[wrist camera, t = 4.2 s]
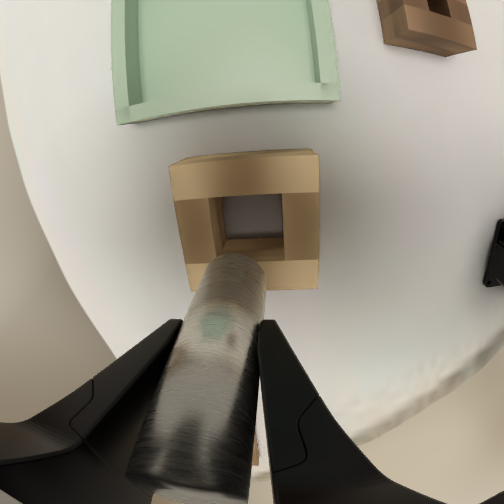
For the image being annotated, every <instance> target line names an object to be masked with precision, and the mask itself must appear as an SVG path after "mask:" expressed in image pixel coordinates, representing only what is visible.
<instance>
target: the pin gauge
mask: <svg viewBox="0 0 504 504" xmlns="http://www.w3.org/2000/svg"><path fill="white" fill-rule="evenodd" d="M265 296H266V276H265V273H264V271H263V269H262V267H261V266H260V265H259V264H258V263H257V262H256V261H255V260H253V259H252V258H250V257H248V256H246V255H243V254H238V253H227V254H223V255H220V256H218V257H216V258H215V259H213V260H212V261H211V262H210V263H209V264H208V266H207V268H206V270H205V272H204V274H203V277H202V279H201V281H200V283H199V286H198V288H197V290H196V293H195V295H194V297H193V300H192V302H191V304H190V307H189V309H188V311H187V314H186V316H185V319H184V321H183V323H182V326H181V328H180V331H179V333H178V335H177V338H176V340H175V343H174V345H173V348H172V350H171V353H170V355H169V357H168V360H167V362H166V365H165V367H164V370H163V372H162V375H161V378H160V380H159V383H158V385H157V388H156V390H155V393H154V396H153V398H152V401H151V403H150V406H149V409H148V411H147V414H146V417H145V419H144V422H143V425H142V427H141V430H140V433H139V435H138V438H137V441H136V444H135V446H134V449H133V452H132V455H131V458H130V460H129V463H128V466H127V469H126V472H125V475H126V477H127V478H128V479H129V480H130V481H131V482H133V483H134V484H136V485H137V486H139V487H141V488H142V489H144V490H146V491H149V492H151V493H153V494H156V495H158V496H161V497H164V498H166V499H170V500H173V501H176V502H180V503H184V504H248V498H249V488H250V478H251V468H252V458H253V447H254V436H255V425H256V413H257V402H258V390H259V377H260V371H259V361H258V339H259V331H260V324H261V321H262V320H264V311H265Z"/></svg>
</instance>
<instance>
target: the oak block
mask: <svg viewBox="0 0 504 504" xmlns="http://www.w3.org/2000/svg"><path fill="white" fill-rule="evenodd" d="M169 172H170V179H171V185H172V192H173V198H174V204H175V210H176V216H177V222H178V228H179V233H180V238H181V244H182V249H183V254H184V259H185V264H186V269H187V274H188V279H189V283H190V288H191V291H196V290H197V288H198V286H199V283H200V281H201V279H202V277H203V274H204V272H205V270H206V268H207V266H208V264H209V263H210V262H211V261H212V260H213V259H215V258H216V257H218V256H220V255H223V254H227V253H238V254H243V255H246V256H248V257H250V258H252V259H253V260H255V261H256V262H257V263H258V264H259V265H260V266H261V267H262V269H263V271H264V273H265V276H266V290H291V289H315V288H318V272H319V157H318V154H316V153H315V152H314V151H313V150H312V149H287V150H266V151H250V152H237V153H226V154H216V155H206V156H197V157H189V158H185V159H183V160H181V161H179V162H177V163H175V164H173V165H170V166H169ZM280 193H282V211H283V234H284V237H279V238H254V239H231V240H226V233H225V225H224V216H223V208H222V199H221V197H227V196H242V195H259V194H280Z"/></svg>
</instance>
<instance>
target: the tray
mask: <svg viewBox="0 0 504 504" xmlns="http://www.w3.org/2000/svg"><path fill="white" fill-rule="evenodd" d="M111 58H112V78H113V92H114V103H115V113H116V122H117V125H124V124H134V123H139V122H143V121H148V120H153V119H158V118H163V117H168V116H173V115H179V114H185V113H191V112H198V111H205V110H212V109H220V108H229V107H239V106H250V105H264V104H282V103H333V102H337V101H340V92H339V80H338V69H337V59H336V50H335V41H334V34H333V26H332V20H331V13H330V7H329V1H328V0H112V3H111Z"/></svg>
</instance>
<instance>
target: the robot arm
mask: <svg viewBox="0 0 504 504" xmlns="http://www.w3.org/2000/svg"><path fill="white" fill-rule="evenodd" d="M483 284H484V285H485V286H486V287H493V286H500V285H503V286H504V219H501V220H500V221H499V222H498V224H497V229H496V234H495V239H494V243H493V247H492V252H491V255H490V259H489V263H488V267H487V270H486V274H485V277H484V280H483ZM182 323H183V320H181V319H170V320H168V321H167V322H166V323H164V324H163V325H162V326H160V327H159V328H158V329H156V330H155V331H154V332H153V333H151V334H150V335H149V336H147V337H146V338H145V339H143V340H142V341H141V342H139V343H138V344H137V345H135V346H134V347H133V348H131V349H130V350H129V351H127V352H126V353H125V354H123V355H122V356H121V357H119V358H118V359H117V360H115V361H114V362H113V363H111V364H110V365H109V366H108V367H106V368H105V369H104V370H102V371H101V372H100V373H98V374H97V375H95V376H94V377H93V379H90V380H89V381H87V382H86V383H85V384H83V385H82V386H81V387H79V388H78V389H76V390H75V391H74V392H72V393H71V394H69V395H68V396H66V397H64V398H63V399H61V400H60V401H58V402H57V403H55V404H53V405H52V406H50V407H48V408H47V409H45V410H43V411H42V412H40V413H38V414H37V415H35V416H33V417H32V418H30V419H28V420H25V421H22V422H18V423H2V422H0V504H151V501H152V496H153V493H151V492H149V491H146V490H144V489H142V488H141V487H139V486H137V485H136V484H134V483H133V482H131V481H130V480H129V479H128V478H127V477H126V475H125V472H126V469H127V466H128V463H129V460H130V458H131V455H132V452H133V449H134V446H135V444H136V441H137V438H138V435H139V433H140V430H141V427H142V425H143V422H144V419H145V417H146V414H147V411H148V409H149V406H150V403H151V401H152V398H153V396H154V393H155V390H156V388H157V385H158V383H159V380H160V378H161V375H162V372H163V370H164V367H165V365H166V362H167V360H168V357H169V355H170V353H171V350H172V348H173V345H174V343H175V340H176V338H177V335H178V333H179V331H180V328H181V326H182ZM258 361H259V371H260V381H261V392H262V401H263V411H264V420H265V429H266V439H267V448H268V457H269V466H270V475H271V484H272V493H273V503H274V504H446V503H443V502H441V501H438V500H436V499H433V498H430V497H428V496H426V495H423V494H421V493H418V492H416V491H414V490H411V489H409V488H407V487H405V486H402V485H400V484H398V483H396V482H394V481H392V480H390V479H389V478H387V477H386V476H385V475H383V474H382V473H381V472H380V471H379V470H378V469H377V468H376V467H375V466H374V465H373V464H372V463H371V462H370V460H369V459H368V458H367V457H366V456H365V455H364V454H363V452H361V450H360V449H359V448H358V447H357V446H356V444H355V443H354V442H353V441H352V440H351V439H350V437H349V436H348V435H347V434H346V433H345V431H344V430H343V429H342V428H341V426H340V425H339V424H338V423H337V421H336V420H335V419H334V417H333V415H332V414H331V412H330V411H329V409H328V408H327V406H326V405H325V403H324V401H323V400H322V398H321V397H320V396H319V393H318V392H317V390H316V388H315V387H314V385H313V383H312V382H311V380H310V378H309V377H308V375H307V373H306V372H305V370H304V368H303V367H302V365H301V363H300V362H299V360H298V358H297V356H296V355H295V353H294V351H293V350H292V348H291V346H290V345H289V343H288V341H287V339H286V338H285V336H284V334H283V333H282V331H281V329H280V328H279V326H278V324H277V322H276V321H275V320H262V321H261V324H260V331H259V339H258ZM480 504H504V491H502V492H500V493H498V494H497V495H495V496H493V497H491V498H489V499H487V500H486V501H484V502H482V503H480Z"/></svg>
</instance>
